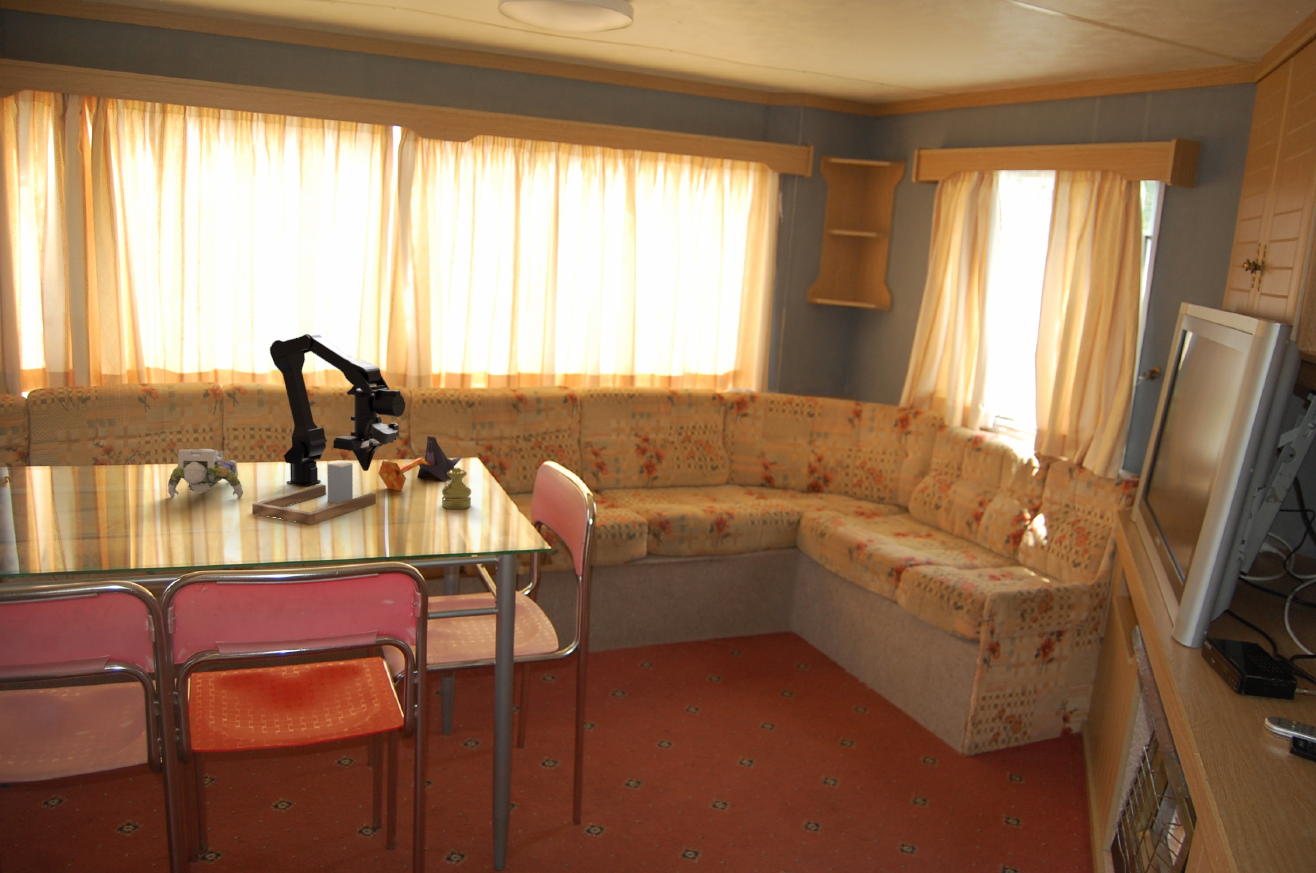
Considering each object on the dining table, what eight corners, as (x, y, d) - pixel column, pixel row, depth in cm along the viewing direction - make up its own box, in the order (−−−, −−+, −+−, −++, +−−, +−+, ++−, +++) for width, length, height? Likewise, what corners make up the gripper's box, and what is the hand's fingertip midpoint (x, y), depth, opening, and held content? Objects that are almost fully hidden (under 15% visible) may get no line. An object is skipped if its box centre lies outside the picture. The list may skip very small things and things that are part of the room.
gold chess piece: (455, 500, 243) (456, 463, 241) (477, 505, 239) (477, 468, 237) (435, 506, 237) (436, 468, 235) (457, 511, 233) (457, 473, 231)
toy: (189, 495, 247) (149, 500, 218) (190, 448, 248) (151, 447, 218) (259, 495, 251) (230, 501, 221) (260, 449, 251) (231, 449, 221)
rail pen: (252, 514, 221) (252, 503, 220) (321, 493, 242) (321, 484, 242) (310, 525, 214) (310, 514, 214) (375, 503, 236) (375, 493, 236)
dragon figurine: (374, 458, 250) (432, 425, 270) (381, 498, 254) (437, 463, 275) (405, 463, 245) (461, 430, 266) (411, 504, 250) (466, 468, 271)
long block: (327, 501, 235) (327, 463, 233) (338, 498, 239) (338, 460, 237) (342, 503, 234) (341, 465, 232) (352, 500, 237) (352, 462, 236)
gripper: (367, 421, 230) (367, 481, 233) (413, 411, 247) (412, 468, 250) (331, 416, 234) (332, 475, 237) (378, 407, 251) (378, 462, 254)
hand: (365, 470), depth 244 cm, fingers closed
